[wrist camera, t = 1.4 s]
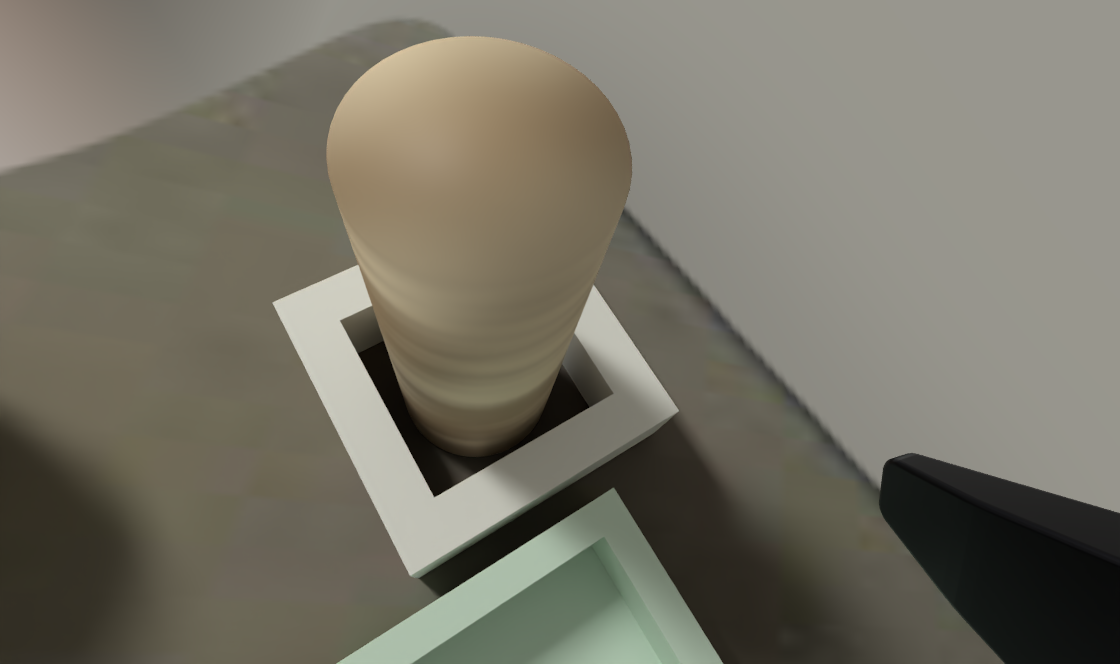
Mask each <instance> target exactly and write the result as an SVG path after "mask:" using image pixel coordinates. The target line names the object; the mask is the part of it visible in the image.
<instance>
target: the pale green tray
mask: <svg viewBox="0 0 1120 664" xmlns="http://www.w3.org/2000/svg"><path fill="white" fill-rule="evenodd" d="M337 664H723V663H722V661H721V659H720V658H719V656H718V655H717V653H716V651H715V650H714V648H713V647H712V645H711V643H710V642H709V640H708V638H707V637H706V635H705V634H704V632H703V630H702V629H701V627H700V626H699V624H698V622H697V621H696V619H695V618H694V616H693V614H692V613H691V611H690V609H689V608H688V606H687V605H686V603H685V601H684V600H683V598H682V597H681V595H680V593H679V592H678V590H677V589H676V587H675V585H674V584H673V582H672V581H671V579H670V577H669V576H668V574H667V572H666V571H665V569H664V568H663V566H662V564H661V563H660V561H659V560H658V558H657V556H656V555H655V553H654V552H653V550H652V548H651V547H650V545H649V543H648V542H647V540H646V539H645V537H644V535H643V534H642V532H641V531H640V529H639V527H638V526H637V524H636V523H635V521H634V519H633V518H632V516H631V515H630V513H629V511H628V510H627V508H626V506H625V505H624V503H623V502H622V500H621V498H620V497H619V495H618V494H617V492H616V490H615V489H614V488H612V489H611V490H609V491H608V492H606V493H604V494H603V495H601V496H600V497H598V498H597V499H595V500H593V501H592V502H590V503H589V504H587V505H586V506H584V507H582V508H581V509H579V510H578V511H576V512H574V513H573V514H571V515H570V516H568V517H567V518H565V519H563V520H562V521H560V522H559V523H557V524H556V525H554V526H552V527H551V528H549V529H548V530H546V531H545V532H543V533H541V534H540V535H538V536H537V537H535V538H534V539H532V540H530V541H529V542H527V543H526V544H524V545H523V546H521V547H519V548H518V549H516V550H515V551H513V552H511V553H510V554H508V555H507V556H505V557H504V558H502V559H500V560H499V561H497V562H496V563H494V564H493V565H491V566H489V567H488V568H486V569H485V570H483V571H482V572H480V573H478V574H477V575H475V576H474V577H472V578H471V579H469V580H467V581H466V582H464V583H463V584H461V585H459V586H458V587H456V588H455V589H453V590H452V591H450V592H448V593H447V594H445V595H444V596H442V597H441V598H439V599H437V600H436V601H434V602H433V603H431V604H430V605H428V606H426V607H425V608H423V609H422V610H420V611H419V612H417V613H415V614H414V615H412V616H411V617H409V618H407V619H406V620H404V621H403V622H401V623H400V624H398V625H396V626H395V627H393V628H392V629H390V630H389V631H387V632H385V633H384V634H382V635H381V636H379V637H378V638H376V639H374V640H373V641H371V642H370V643H368V644H367V645H365V646H363V647H362V648H360V649H359V650H357V651H355V652H354V653H352V654H351V655H349V656H348V657H346V658H344V659H343V660H341V661H340V662H338V663H337Z"/></svg>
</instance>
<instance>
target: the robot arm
mask: <svg viewBox="0 0 1120 664" xmlns="http://www.w3.org/2000/svg"><path fill="white" fill-rule="evenodd" d="M879 506H880V510H881V513H882V515H883V517H884V519H885V520H886V522H887V523H888V524H889V526H890V527H891V528H892V530H893V531H894V532H895V533H896V535H897V536H898V537H899V539H900V540H901V541H902V542H903V544H904V545H905V546H906V548H907V549H908V550H909V551H910V553H911V554H912V555H913V557H914V558H915V559H916V560H917V562H918V563H919V564H920V566H921V567H922V568H923V569H924V571H925V572H926V573H927V575H928V576H929V577H930V579H931V580H932V581H933V582H934V584H935V585H936V586H937V588H938V589H939V590H940V591H941V593H942V594H943V595H944V596H945V598H946V599H947V600H948V601H949V602H950V604H951V605H952V606H953V607H954V609H955V610H956V611H957V612H958V613H959V614H960V615H961V616H962V618H963V619H964V620H965V621H966V622H967V623H968V624H969V625H970V626H971V627H972V629H973V630H974V631H975V632H976V633H977V634H978V635H979V636H980V637H981V638H982V639H983V640H984V642H985V643H986V644H987V645H988V646H989V647H990V648H991V649H992V650H993V651H994V652H995V653H996V655H997V656H998V657H999V658H1000V659H1001V660H1002V661H1003V662H1004V663H1005V664H1120V513H1117V512H1114V511H1111V510H1107V509H1104V508H1100V507H1097V506H1093V505H1090V504H1087V503H1083V502H1080V501H1077V500H1073V499H1069V498H1066V497H1063V496H1059V495H1056V494H1052V493H1049V492H1046V491H1042V490H1039V489H1035V488H1032V487H1029V486H1025V485H1021V484H1018V483H1015V482H1011V481H1008V480H1005V479H1001V478H998V477H994V476H991V475H988V474H984V473H981V472H977V471H974V470H971V469H967V468H964V467H960V466H957V465H953V464H950V463H946V462H943V461H940V460H936V459H933V458H929V457H926V456H923V455H919V454H915V453H909V454H905V455H901V456H898V457H895V458H892V459H889V460H888V461H887V462H886V463H885V465H884V468H883V474H882V482H881V490H880V498H879Z"/></svg>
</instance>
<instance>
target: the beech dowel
mask: <svg viewBox="0 0 1120 664" xmlns="http://www.w3.org/2000/svg"><path fill="white" fill-rule="evenodd" d="M326 158H327V166H328V174H329V178H330V181H331V185H332V188H333V192H334V195H335V198H336V201H337V204H338V206H339V209H340V212H341V215H342V218H343V221H344V224H345V227H346V230H347V233H348V236H349V239H350V242H351V245H352V248H353V251H354V254H355V257H356V259H357V262H358V265H359V268H360V271H361V274H362V277H363V280H364V283H365V286H366V289H367V292H368V295H369V298H370V301H371V304H372V307H373V310H374V312H375V315H376V318H377V321H378V324H379V327H380V330H381V333H382V336H383V339H384V342H385V345H386V348H387V351H388V354H389V357H390V360H391V363H392V365H393V368H394V371H395V374H396V377H397V380H398V383H399V386H400V389H401V392H402V395H403V398H404V401H405V404H406V407H407V410H408V413H409V415H410V417H411V419H412V421H413V423H414V424H415V426H416V427H417V429H418V430H419V431H420V432H421V434H422V435H423V436H424V437H425V438H426V439H427V440H429V441H430V442H431V443H433V444H434V445H436V446H437V447H439V448H441V449H443V450H445V451H447V452H450V453H453V454H456V455H460V456H465V457H484V456H490V455H495V454H498V453H501V452H504V451H506V450H508V449H510V448H512V447H513V446H515V445H516V444H518V443H519V442H521V441H522V440H523V439H524V438H525V437H526V436H528V434H529V433H530V432H531V431H532V430H533V429H534V427H535V426H536V424H537V423H538V421H539V419H540V417H541V415H542V413H543V410H544V408H545V405H546V403H547V400H548V398H549V395H550V393H551V390H552V387H553V385H554V382H555V380H556V377H557V375H558V372H559V370H560V367H561V365H562V362H563V360H564V357H565V355H566V352H567V350H568V347H569V345H570V342H571V340H572V337H573V335H574V332H575V330H576V327H577V324H578V322H579V319H580V317H581V314H582V312H583V309H584V307H585V304H586V302H587V299H588V297H589V294H590V292H591V289H592V287H593V284H594V282H595V279H596V277H597V274H598V272H599V269H600V267H601V264H602V261H603V259H604V256H605V254H606V251H607V249H608V246H609V244H610V241H611V239H612V236H613V234H614V231H615V229H616V226H617V224H618V221H619V219H620V216H621V214H622V211H623V209H624V206H625V203H626V200H627V197H628V193H629V190H630V184H631V177H632V157H631V152H630V145H629V141H628V138H627V135H626V132H625V128H624V126H623V124H622V122H621V120H620V118H619V116H618V114H617V112H616V111H615V109H614V108H613V106H612V105H611V103H610V102H609V100H608V99H607V98H606V96H605V95H604V94H603V93H602V92H601V91H600V89H599V88H598V87H597V86H596V85H595V84H594V83H592V82H591V81H590V80H589V79H588V78H587V77H586V76H585V75H584V74H582V73H581V72H579V71H578V70H577V69H575V68H574V67H572V66H571V65H570V64H568V63H566V62H564V61H563V60H561V59H559V58H558V57H556V56H554V55H551V54H549V53H547V52H545V51H543V50H540V49H538V48H534V47H532V46H529V45H526V44H523V43H519V42H514V41H510V40H506V39H498V38H491V37H476V36H464V37H449V38H443V39H437V40H432V41H428V42H424V43H421V44H417V45H414V46H411V47H409V48H406V49H404V50H401V51H399V52H397V53H395V54H393V55H391V56H389V57H387V58H386V59H384V60H382V61H381V62H379V63H378V64H376V65H375V66H374V67H372V68H371V69H369V70H368V71H367V72H366V73H365V74H364V75H363V76H362V77H361V78H359V79H358V80H357V81H356V82H355V84H354V85H353V86H352V87H351V88H350V90H349V91H348V92H347V93H346V95H345V96H344V98H343V100H342V101H341V103H340V105H339V106H338V108H337V110H336V113H335V115H334V118H333V120H332V123H331V126H330V130H329V135H328V140H327V156H326Z"/></svg>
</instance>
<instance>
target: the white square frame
mask: <svg viewBox="0 0 1120 664" xmlns="http://www.w3.org/2000/svg"><path fill="white" fill-rule="evenodd" d="M272 303H273V305H274V307H275V309H276V311H277V313H278V315H279V317H280V319H281V320H282V322H283V324H284V326H285V328H286V330H287V332H288V334H289V336H290V338H291V340H292V342H293V344H294V346H295V348H296V350H297V352H298V354H299V356H300V358H301V360H302V362H303V364H304V366H305V368H306V370H307V372H308V374H309V376H310V378H311V380H312V382H313V384H314V386H315V388H316V390H317V392H318V394H319V396H320V398H321V400H322V402H323V404H324V406H325V408H326V410H327V412H328V414H329V416H330V418H331V420H332V422H333V424H334V426H335V428H336V430H337V432H338V434H339V436H340V438H341V440H342V442H343V444H344V446H345V448H346V450H347V452H348V454H349V456H350V458H351V459H352V461H353V463H354V465H355V467H356V469H357V471H358V473H359V475H360V477H361V479H362V481H363V483H364V485H365V487H366V489H367V491H368V493H369V495H370V497H371V499H372V501H373V503H374V505H375V507H376V509H377V511H378V513H379V515H380V517H381V519H382V521H383V523H384V525H385V527H386V529H387V531H388V533H389V535H390V537H391V539H392V541H393V543H394V545H395V547H396V549H397V551H398V553H399V555H400V557H401V559H402V561H403V563H404V565H405V567H406V569H407V571H408V573H409V575H410V576H412V577H415V578H420V577H422V576H423V575H425V574H427V573H428V572H430V571H431V570H433V569H435V568H436V567H438V566H440V565H441V564H443V563H444V562H446V561H448V560H449V559H451V558H453V557H454V556H456V555H457V554H459V553H461V552H462V551H464V550H465V549H467V548H469V547H470V546H472V545H474V544H475V543H477V542H478V541H480V540H482V539H483V538H485V537H487V536H488V535H490V534H491V533H493V532H495V531H496V530H498V529H499V528H501V527H503V526H504V525H506V524H508V523H509V522H511V521H512V520H514V519H516V518H517V517H519V516H521V515H522V514H524V513H525V512H527V511H529V510H530V509H532V508H533V507H535V506H537V505H538V504H540V503H542V502H543V501H545V500H546V499H548V498H550V497H551V496H553V495H555V494H556V493H558V492H559V491H561V490H563V489H564V488H566V487H568V486H569V485H571V484H572V483H574V482H576V481H577V480H579V479H580V478H582V477H584V476H585V475H587V474H589V473H590V472H592V471H593V470H595V469H597V468H598V467H600V466H602V465H603V464H605V463H606V462H608V461H610V460H611V459H613V458H614V457H616V456H618V455H619V454H621V453H623V452H624V451H626V450H627V449H629V448H631V447H632V446H634V445H636V444H637V443H639V442H640V441H642V440H644V439H645V438H647V437H648V436H650V435H652V434H653V433H655V432H656V431H657V430H658V429H659V428H660V427H661V426H663V425H664V424H665V423H666V422H667V421H668V420H669V419H671V418H672V417H673V416H674V415H675V414H676V413H677V412H679V410H678V409H677V407H676V406H675V404H674V403H673V401H672V400H671V398H670V397H669V395H668V394H667V392H666V391H665V389H664V388H663V386H662V385H661V384H660V382H659V381H658V379H657V378H656V376H655V375H654V373H653V372H652V370H651V369H650V367H649V366H648V364H647V363H646V361H645V360H644V358H643V357H642V355H641V354H640V352H639V351H638V350H637V348H636V347H635V345H634V344H633V342H632V341H631V339H630V338H629V336H628V335H627V333H626V332H625V330H624V329H623V327H622V326H621V324H620V323H619V321H618V320H617V318H616V317H615V316H614V314H613V313H612V311H611V310H610V308H609V307H608V305H607V304H606V302H605V301H604V299H603V298H602V296H601V295H600V293H599V292H598V290H597V289H596V287H595V286H594V284H593V287H592V289H591V292H590V294H589V297H588V299H587V302H586V304H585V307H584V309H583V312H582V314H581V317H580V319H579V322H578V324H577V327H576V330H575V332H574V335H573V337H572V340H571V342H570V345H569V347H568V350H567V352H566V355H565V357H564V360H563V362H562V365H563V366H564V368H565V369H566V371H567V372H568V374H569V376H570V377H571V379H572V380H573V382H574V384H575V385H576V387H577V388H578V390H579V391H580V393H581V395H582V396H583V398H584V399H585V401H586V402H587V404H588V406H589V407H590V408H588V409H586V410H585V411H583V412H581V413H579V414H578V415H576V416H574V417H573V418H571V419H569V420H567V421H566V422H564V423H562V424H560V425H559V426H557V427H555V428H554V429H552V430H550V431H548V432H547V433H545V434H543V435H541V436H540V437H538V438H536V439H535V440H533V441H531V442H529V443H528V444H526V445H524V446H523V447H521V448H519V449H517V450H516V451H514V452H512V453H510V454H509V455H507V456H505V457H504V458H502V459H500V460H498V461H497V462H495V463H493V464H491V465H490V466H488V467H486V468H485V469H483V470H481V471H479V472H478V473H476V474H474V475H472V476H471V477H469V478H467V479H466V480H464V481H462V482H460V483H459V484H457V485H455V486H454V487H452V488H450V489H448V490H447V491H445V492H443V493H441V494H440V495H438V496H436V497H435V498H434V496H433V494H432V492H431V490H430V489H429V487H428V485H427V483H426V481H425V479H424V477H423V475H422V474H421V472H420V470H419V468H418V466H417V464H416V462H415V460H414V459H413V457H412V455H411V453H410V451H409V449H408V447H407V445H406V444H405V442H404V440H403V438H402V436H401V434H400V432H399V431H398V429H397V427H396V425H395V423H394V421H393V419H392V417H391V416H390V414H389V412H388V410H387V408H386V406H385V404H384V402H383V401H382V399H381V397H380V395H379V393H378V391H377V389H376V387H375V386H374V384H373V382H372V380H371V378H370V376H369V374H368V372H367V371H366V369H365V367H364V365H363V363H362V361H361V359H360V357H359V356H358V353H360V352H362V351H364V350H366V349H368V348H370V347H372V346H374V345H376V344H378V343H380V342H382V341H384V339H383V336H382V333H381V330H380V327H379V324H378V321H377V318H376V315H375V312H374V310H373V307H372V304H371V301H370V298H369V295H368V292H367V289H366V286H365V283H364V280H363V277H362V274H361V271H360V268H359V265H357V266H355V267H352V268H350V269H348V270H345V271H343V272H341V273H339V274H336V275H334V276H332V277H329V278H327V279H325V280H323V281H320V282H318V283H316V284H313V285H311V286H309V287H307V288H304V289H302V290H300V291H298V292H295V293H293V294H291V295H288V296H286V297H284V298H282V299H279V300H277V301H275V302H272Z"/></svg>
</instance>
